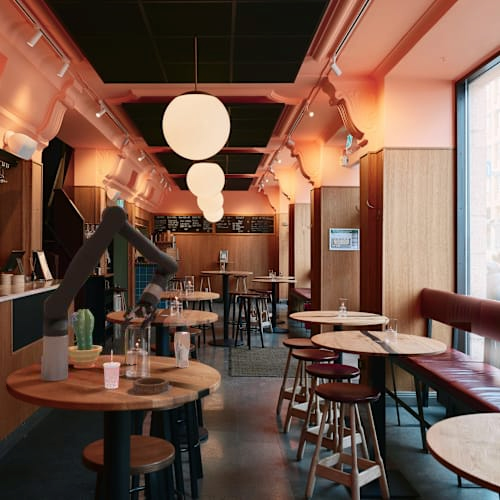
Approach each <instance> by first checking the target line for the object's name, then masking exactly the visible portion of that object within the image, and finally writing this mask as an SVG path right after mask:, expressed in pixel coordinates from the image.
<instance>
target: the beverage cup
mask: <svg viewBox="0 0 500 500" xmlns="http://www.w3.org/2000/svg"><path fill="white" fill-rule="evenodd" d="M113 352H114V351H113V349H111V351H110V354H111V356H110V358H111V359H110V360H111V361H110V362H104V363H103V365H102V366H103V371H104V373H103V375H104V388H105V389H108V390H111V389H112V390H113V389H117V388H119V379H120V378H119V377H120V366H121V363H120V362H115V361H113V355H114V354H113Z"/></svg>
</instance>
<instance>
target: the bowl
mask: <svg viewBox="0 0 500 500" xmlns="http://www.w3.org/2000/svg"><path fill="white" fill-rule="evenodd" d="M169 381H170V380H169V379H168V378H165V377H157V376H156V377H154V376H153V377H141V378H138V379H134V380H133V382H132V388H133V389H134V392H136V393H140V394H139V395H158V394H157V393H162V392H165V391H167V390H168V387H169V385H170V383H169Z"/></svg>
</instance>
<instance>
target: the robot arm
mask: <svg viewBox="0 0 500 500" xmlns="http://www.w3.org/2000/svg"><path fill="white" fill-rule="evenodd" d="M100 215H101V216H100V217H101V221H100V223H99V224H98V227H97V228H96V229H95V231H94V232H93V234H91V236H90V237H89V238H88V239H87V240H86V241H85V242H84V243H83V245H81V247H80V248H79V249H78V251H77V252H76V254H75V256H73V258H72V260H71V262H70V264H69V265H68V268H67V270H66V272H65V274H64V276H63V278H62V280H61V282H60V284H59V285H58V286H57V287H56V289H55V290H54V291H53V293H52V294H51V295H49V296H48V297H47V298H45V300H44V302H43V303H44V304H43V338H42V339H43V343H42V344H43V346H42V347H43V348H42V349H43V354H42V355H41V359H40V361H41V365H40V367H41V369H40V379H41V380H40V381H47V382H57V381H64V380H67V379H69V377H68V376H69V353H68V348H69V310H70V307H71V305H72V303H73V301H74V299H75V298H76V295H77V294H78V292H79V291H80V289H81V288H82V287H83V286H84V285H85V283H86V282H87V280H88V279H89V278H90V277H91V275H92V274H93V272H94V270H95V269H96V268H97V266H98V265H99V263H100V262H101V259H102V258H103V256H104V254H105V253H106V251H107V249H108V247H109V245H110V243H111V242H112V241H113V239H114V238H115V237H116V235H117V234H118V235H119V236H120V237H122V238H123V239H124V240H125V241H126V242H127V243H128V244H129V245H131V246H132V248H133V249H134V250H136V251H137V253H138V254H140V255H141V256H142V257H143V258H144V259H145V260H146V261H147V262H148V263H150V264H157V265H156V266H155V268H154V270H153V273H152V278H151V279H150V281H149V283H148V284H147V286H146V287H145V288H144V290H143V292H142V293H141V295H140V297H139V298H138V300H137V305H136V306H135V307H134V306H132V305H129V306H128V308H127V309H126V311H125V312H124V314H123V315H122V317H123V319H124V321H123V323H122V328H123V329H124V330H127V329H128V328H129V325H130V324H131V323H132V322H133V320H137V319H138V318H139V319H140V318H141V319H143V320H142V322H141V324H140V325H139V329H140V330H141V331H142V332H143V331H145V329H147V327H148V325H149V324H150V323H155V320H156V319H157V317H158V314H159V312H160V310H159V309H158V308H157V306H158V304H159V302H160V300H161V298H162V296H163V293H164V291H165V290H166V288H167V286H168V278H169V277H171V276H173V275H175V274H176V273H178V271H179V268H180V267H179V263H178V262H177V260H176V259H175V258H174V257H173V256H171V255H169V254H168V253H166V252H164V251H162V250H160V249H159V247H158V246H156V244H155V243H154V242H153V241H151V240H150V239H149V238H148V237H146V236H145V235H144V234H142V233H141V232H140V231H139V230H137V229H136V228H135V227H134V226H132V224H131V223H130V222H129V221H128V219H127V218H128V216H127V215H128V214H127V211H126V210H125V208H123V207H122V206H119V205H111V206H107V207H104V209H103V211H101V214H100Z"/></svg>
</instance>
